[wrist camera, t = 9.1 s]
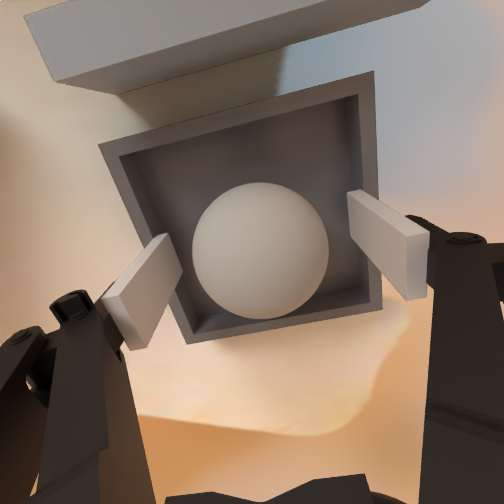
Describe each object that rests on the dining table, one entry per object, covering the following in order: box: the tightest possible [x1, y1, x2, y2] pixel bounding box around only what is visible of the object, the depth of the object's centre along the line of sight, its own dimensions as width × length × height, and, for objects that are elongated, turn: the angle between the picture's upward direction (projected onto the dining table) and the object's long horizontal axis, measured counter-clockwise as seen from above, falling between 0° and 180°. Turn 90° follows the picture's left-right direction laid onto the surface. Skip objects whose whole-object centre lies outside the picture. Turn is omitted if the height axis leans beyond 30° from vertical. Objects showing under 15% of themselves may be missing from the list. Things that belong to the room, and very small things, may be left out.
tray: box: [98, 71, 383, 344], centre depth 17 cm, size 14×14×2 cm
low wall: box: [23, 0, 430, 95], centre depth 11 cm, size 2×16×5 cm, turn 103°
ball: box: [192, 183, 329, 319], centre depth 14 cm, size 7×7×7 cm
